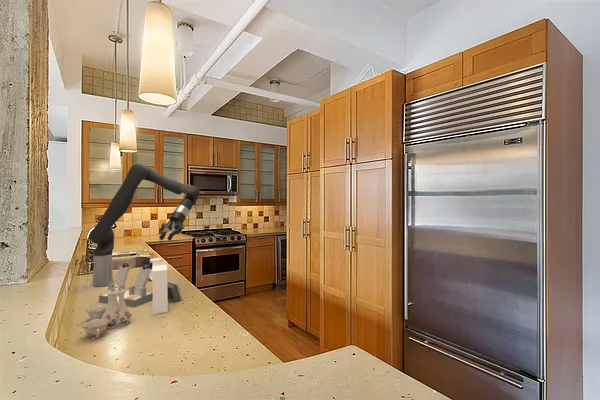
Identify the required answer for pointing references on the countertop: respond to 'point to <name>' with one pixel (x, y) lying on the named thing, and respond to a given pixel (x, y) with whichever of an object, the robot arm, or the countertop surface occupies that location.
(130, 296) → the switch panel
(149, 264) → the spread jar
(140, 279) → the lever outer
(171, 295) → the electrical switch
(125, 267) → the lever inner
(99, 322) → the chinaware
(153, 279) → the milk
